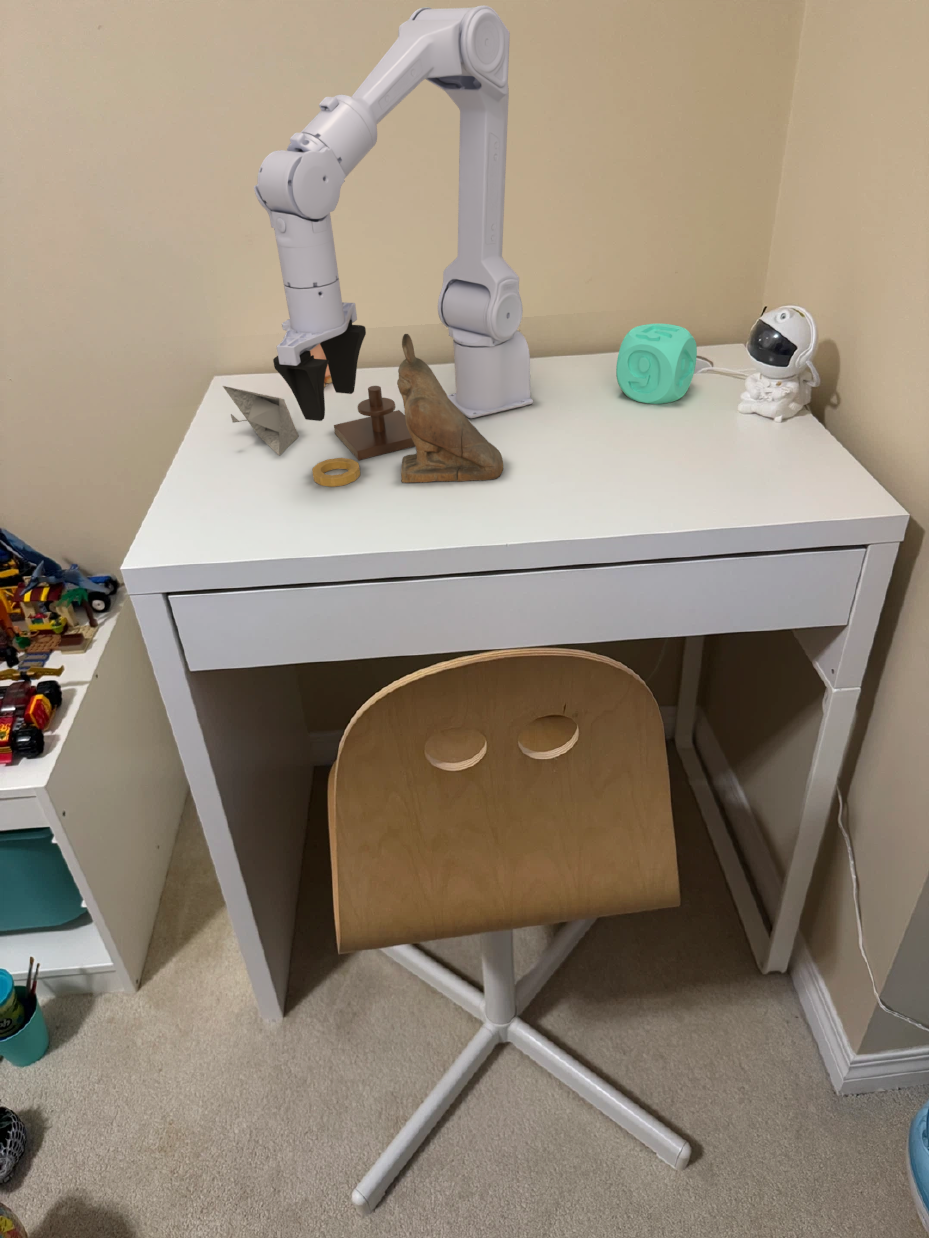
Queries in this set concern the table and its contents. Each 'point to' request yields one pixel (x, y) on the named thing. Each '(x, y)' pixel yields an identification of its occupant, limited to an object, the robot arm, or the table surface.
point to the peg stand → (375, 428)
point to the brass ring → (340, 478)
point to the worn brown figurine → (440, 430)
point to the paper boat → (266, 417)
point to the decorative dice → (656, 363)
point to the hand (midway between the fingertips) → (330, 405)
